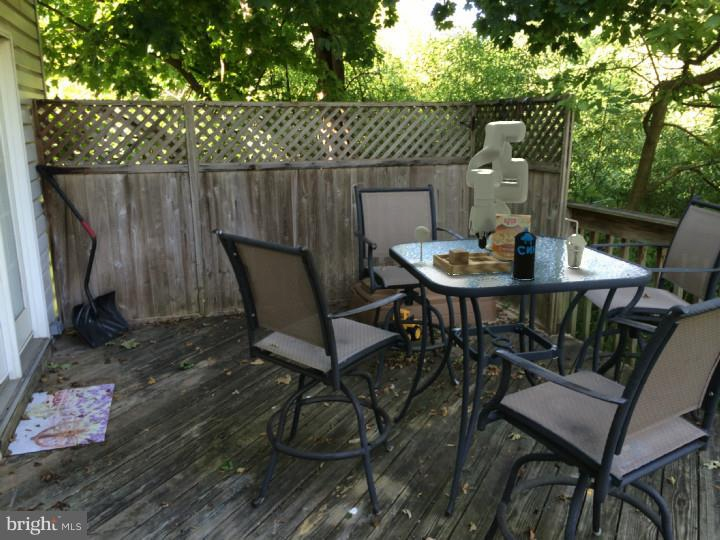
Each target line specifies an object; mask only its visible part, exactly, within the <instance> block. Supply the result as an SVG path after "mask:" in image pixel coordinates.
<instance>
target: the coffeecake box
mask: <svg viewBox="0 0 720 540" xmlns="http://www.w3.org/2000/svg"><path fill="white" fill-rule="evenodd" d="M531 221H532V215H530V214H514V213H513V214H512V213H511V214H496V229H495V230H496V233H494V234H493V235H492V250H491V257H493V258H495V259H497V260H499V261H508V260H514V244H515V238H514V237H515V236H516V235H517V234H518V233H520V232H523V226H529V231H528V232H530V233H531V225H532V222H531Z"/></svg>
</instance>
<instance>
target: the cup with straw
mask: <svg viewBox="0 0 720 540" xmlns="http://www.w3.org/2000/svg"><path fill="white" fill-rule="evenodd" d="M563 219H564V220H565V221H568V222H573V223H576V228H575V233H573V234H571V235H569V236H568V237H567V239H566V240H565V242H564V244H565V246H566V250H567V252H566V253H567V254H566V255H567V265H568V266H570V267H579V266H581V265H582V264H581V263H582V259H583V253H584V250H585V246H587V245H588V243H587V242H586V240H585V238H584V237H583V235H582V234H580V233H579V232H578V231H579V221H578V220H575V219H571V218H566V217H564V218H563ZM568 266H567V267H568Z"/></svg>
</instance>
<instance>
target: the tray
mask: <svg viewBox="0 0 720 540" xmlns="http://www.w3.org/2000/svg"><path fill="white" fill-rule="evenodd" d="M490 254H491V253H490V251H482V252H480V251H479V252H469V264H465V265H451V264H450V263H449V253H445V254H443V253H442V254H432V257H433V258H432V264H433V265H434V266H435V265H436V267H437V268H438V267H439V268H438V269H440V270H441V269H442V270H441V271H443V270H444V271H445V272H444V271H443V272H444V273H446V272H447V273H449V274H450V275H453V274H473V273H491V274H494V273H493V272H507V273H509V272H508V271H512V269H511V268H512V261H506V262H505V261H502V260H497V259H495V258H493V257H492V255H490ZM447 273H446V274H447ZM450 275H449V276H450Z"/></svg>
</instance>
